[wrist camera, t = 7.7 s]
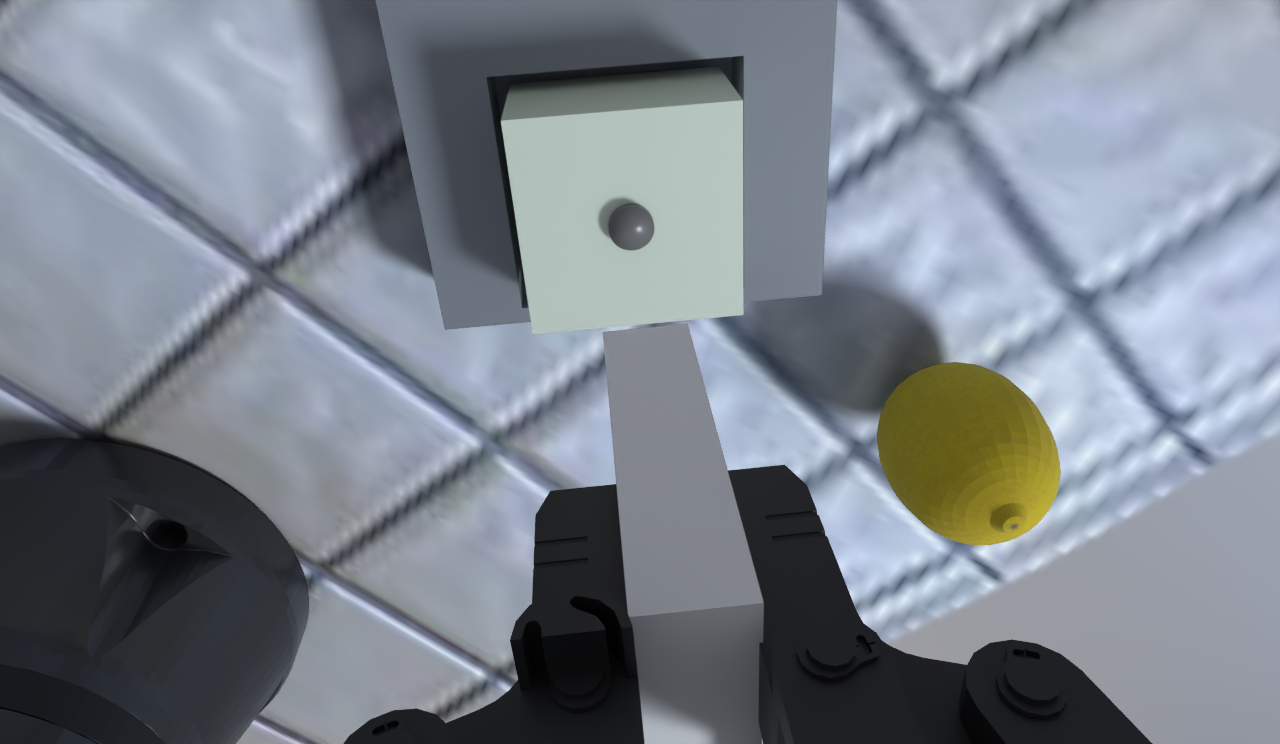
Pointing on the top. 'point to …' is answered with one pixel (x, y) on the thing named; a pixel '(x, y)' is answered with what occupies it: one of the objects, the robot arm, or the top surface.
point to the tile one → (627, 197)
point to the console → (590, 47)
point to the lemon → (968, 453)
